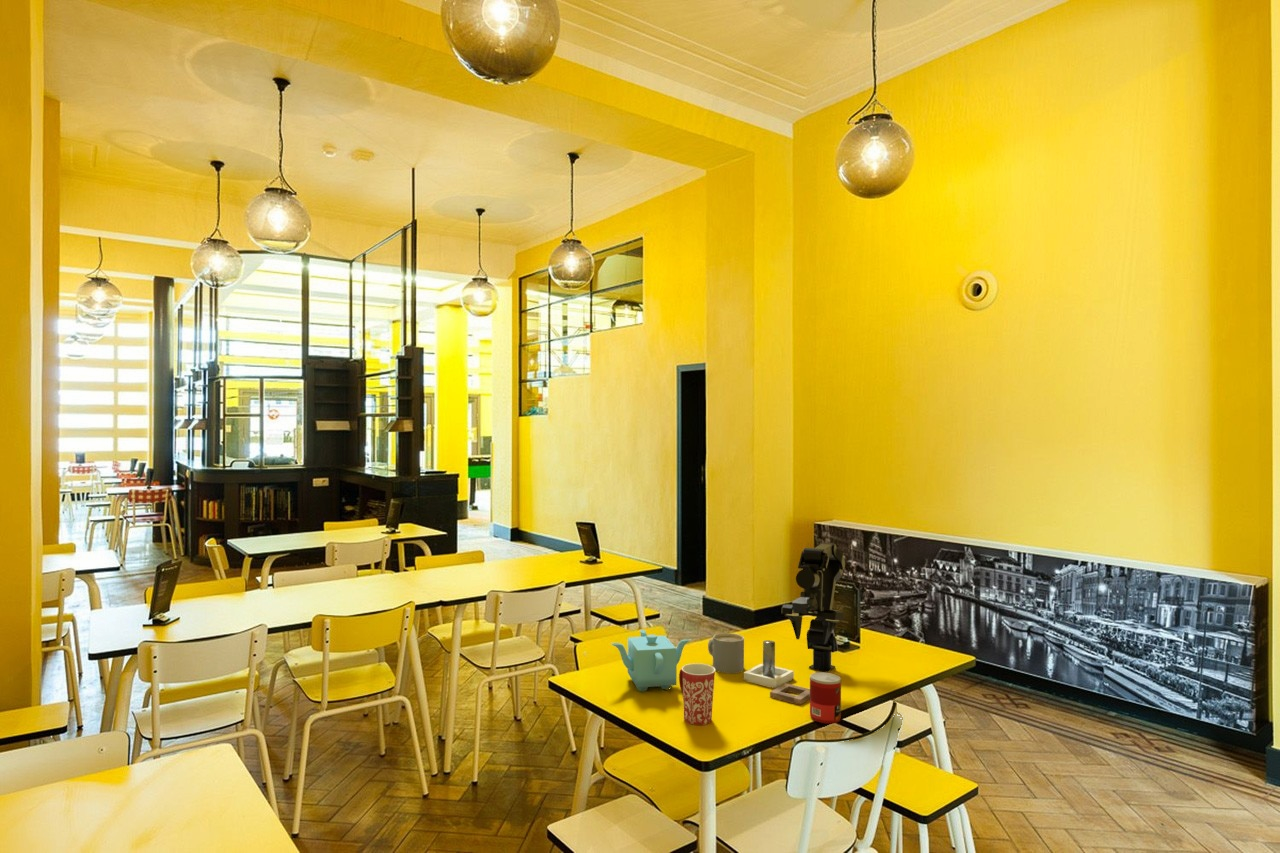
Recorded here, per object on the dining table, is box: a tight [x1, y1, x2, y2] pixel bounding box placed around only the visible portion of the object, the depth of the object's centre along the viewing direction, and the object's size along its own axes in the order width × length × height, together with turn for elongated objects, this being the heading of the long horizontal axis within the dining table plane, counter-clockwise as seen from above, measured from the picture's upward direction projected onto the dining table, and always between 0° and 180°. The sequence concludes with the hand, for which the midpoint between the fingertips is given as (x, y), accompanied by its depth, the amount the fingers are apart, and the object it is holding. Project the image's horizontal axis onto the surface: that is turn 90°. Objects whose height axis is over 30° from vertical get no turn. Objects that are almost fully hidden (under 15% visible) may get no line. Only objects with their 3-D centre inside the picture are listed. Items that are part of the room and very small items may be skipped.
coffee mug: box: [707, 632, 745, 674], centre depth 228 cm, size 13×10×10 cm
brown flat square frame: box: [769, 683, 810, 706], centre depth 202 cm, size 9×9×2 cm
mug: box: [678, 662, 717, 726], centre depth 186 cm, size 13×9×14 cm
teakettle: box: [610, 629, 692, 692], centre depth 211 cm, size 19×19×15 cm
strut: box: [762, 639, 776, 678], centre depth 216 cm, size 4×4×11 cm
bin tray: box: [743, 663, 795, 689], centre depth 216 cm, size 11×11×2 cm
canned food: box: [809, 671, 842, 725], centre depth 186 cm, size 8×8×11 cm
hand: (811, 641), depth 213 cm, fingers open, 9 cm apart
